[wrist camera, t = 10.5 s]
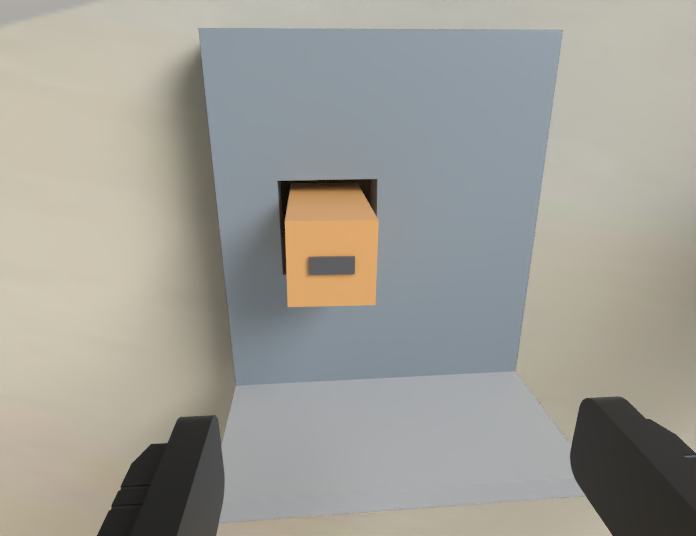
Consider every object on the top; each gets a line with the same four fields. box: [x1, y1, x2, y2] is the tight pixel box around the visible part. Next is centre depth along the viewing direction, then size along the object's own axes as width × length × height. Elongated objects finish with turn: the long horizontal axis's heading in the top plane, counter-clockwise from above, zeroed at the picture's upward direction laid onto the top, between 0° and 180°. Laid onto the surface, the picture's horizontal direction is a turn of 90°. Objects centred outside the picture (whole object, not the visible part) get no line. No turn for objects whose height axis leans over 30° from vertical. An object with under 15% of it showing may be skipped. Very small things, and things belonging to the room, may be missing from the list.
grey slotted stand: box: [198, 28, 586, 523], centre depth 24 cm, size 18×21×12 cm
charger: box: [285, 183, 379, 307], centre depth 25 cm, size 4×4×9 cm
